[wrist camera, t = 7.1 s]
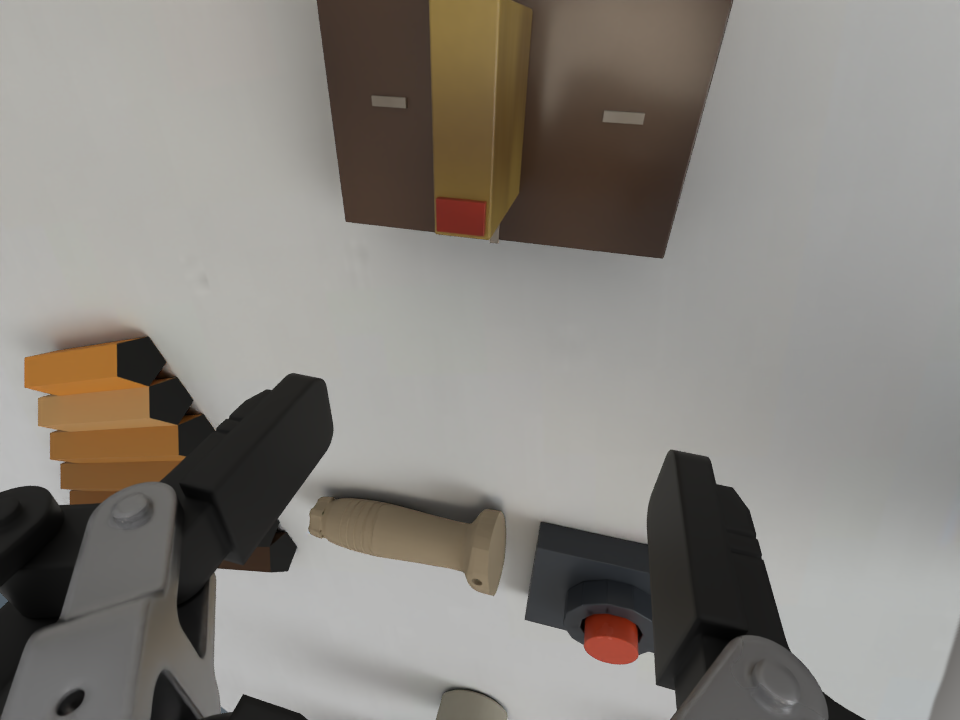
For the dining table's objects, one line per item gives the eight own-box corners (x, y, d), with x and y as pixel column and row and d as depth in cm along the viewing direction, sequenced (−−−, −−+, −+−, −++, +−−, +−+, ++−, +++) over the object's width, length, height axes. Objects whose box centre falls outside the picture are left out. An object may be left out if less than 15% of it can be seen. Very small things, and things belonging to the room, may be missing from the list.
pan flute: (122, 541, 53) (300, 551, 45) (96, 568, 51) (279, 584, 42) (-57, 360, 41) (142, 328, 33) (-104, 383, 38) (99, 354, 30)
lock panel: (733, -60, 16) (756, -80, 13) (657, 237, 21) (663, 263, 19) (347, -61, 18) (302, -78, 15) (372, 205, 24) (343, 225, 21)
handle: (324, 465, 38) (503, 497, 34) (343, 517, 41) (507, 552, 37) (288, 513, 34) (485, 556, 30) (312, 565, 38) (491, 610, 33)
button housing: (713, 559, 32) (724, 616, 29) (674, 630, 38) (680, 684, 35) (540, 521, 34) (533, 570, 31) (528, 594, 40) (520, 642, 37)
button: (642, 618, 32) (643, 645, 31) (631, 643, 34) (632, 669, 33) (589, 605, 33) (588, 631, 31) (581, 631, 35) (579, 656, 33)
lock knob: (480, 7, 16) (424, -8, 11) (533, 8, 15) (498, -7, 11) (475, 190, 19) (431, 237, 14) (519, 194, 19) (488, 243, 14)
